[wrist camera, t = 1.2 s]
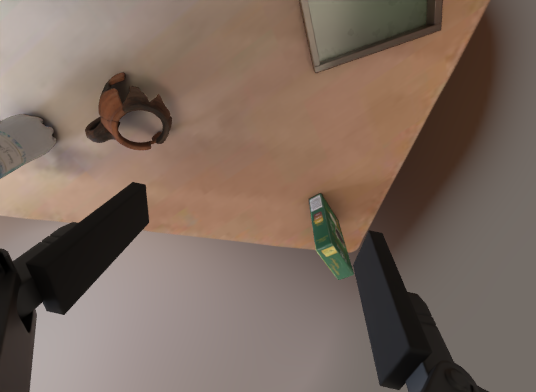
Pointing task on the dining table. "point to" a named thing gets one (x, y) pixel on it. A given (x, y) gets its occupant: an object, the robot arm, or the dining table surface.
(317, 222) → the coffee box
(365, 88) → the dining table surface
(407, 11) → the tray
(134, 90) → the broken clay pot
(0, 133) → the bottle
